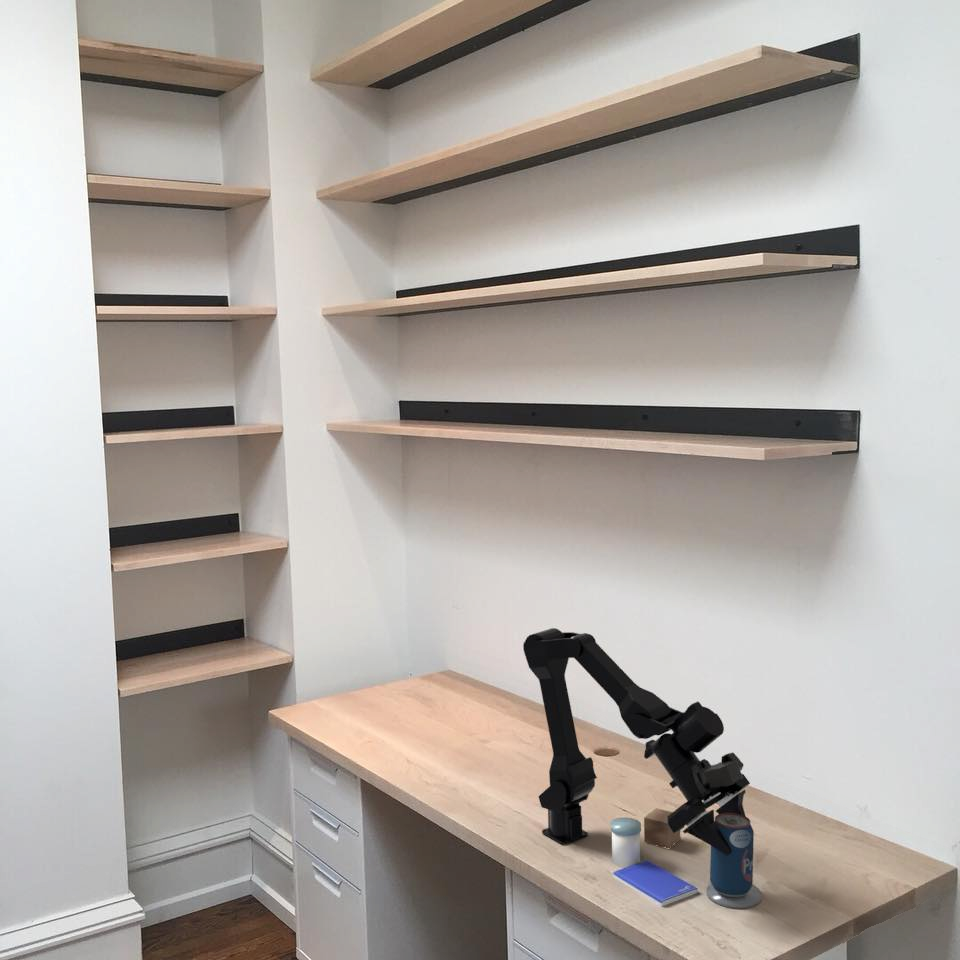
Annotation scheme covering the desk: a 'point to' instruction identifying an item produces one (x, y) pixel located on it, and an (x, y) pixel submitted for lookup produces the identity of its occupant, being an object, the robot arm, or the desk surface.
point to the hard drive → (655, 883)
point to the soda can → (733, 856)
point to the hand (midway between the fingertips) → (740, 846)
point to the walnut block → (659, 829)
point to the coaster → (735, 898)
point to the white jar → (625, 841)
